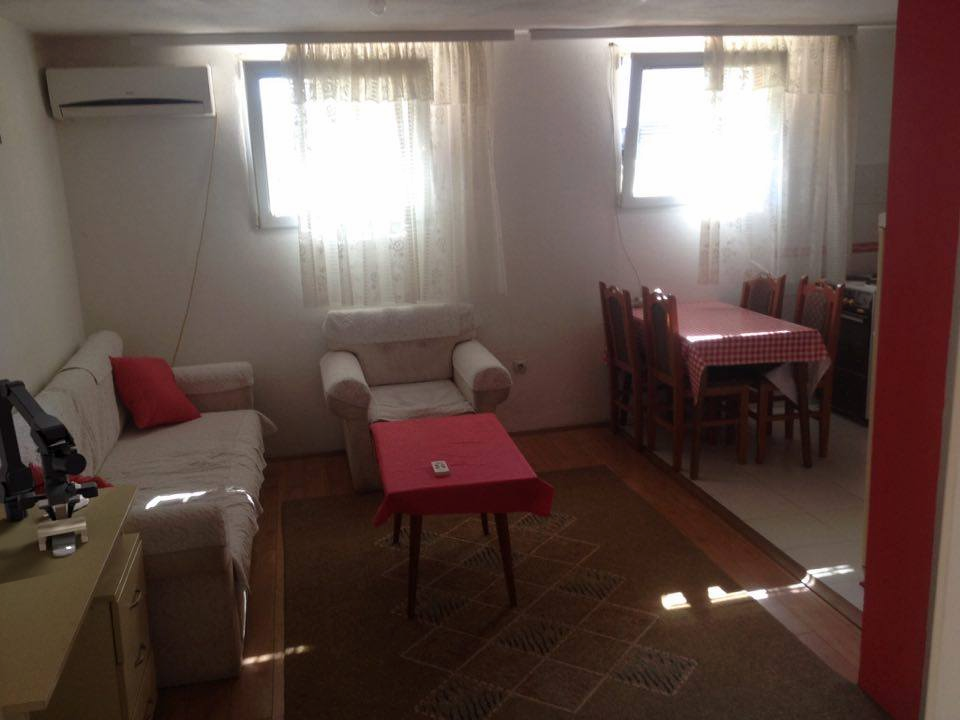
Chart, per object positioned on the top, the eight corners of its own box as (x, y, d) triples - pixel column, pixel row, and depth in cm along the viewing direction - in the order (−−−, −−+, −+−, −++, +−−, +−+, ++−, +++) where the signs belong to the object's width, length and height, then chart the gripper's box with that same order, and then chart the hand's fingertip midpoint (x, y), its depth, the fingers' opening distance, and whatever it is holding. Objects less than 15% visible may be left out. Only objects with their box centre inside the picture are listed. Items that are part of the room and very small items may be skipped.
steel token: (53, 551, 209) (53, 546, 209) (75, 547, 211) (75, 542, 211) (53, 559, 205) (52, 553, 204) (75, 554, 207) (75, 549, 206)
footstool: (40, 540, 216) (37, 523, 215) (87, 531, 221) (84, 515, 220) (40, 551, 209) (37, 534, 208) (88, 541, 214) (85, 525, 213)
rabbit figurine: (43, 517, 233) (38, 484, 231) (42, 509, 239) (37, 477, 238) (90, 508, 238) (85, 476, 237) (88, 500, 245) (84, 469, 243)
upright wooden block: (52, 529, 223) (49, 504, 222) (74, 525, 225) (70, 501, 224) (52, 550, 209) (49, 524, 208) (75, 546, 211) (72, 520, 210)
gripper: (13, 485, 207) (22, 544, 210) (95, 471, 215) (103, 528, 218) (14, 473, 217) (23, 529, 220) (93, 460, 225) (100, 515, 228)
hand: (63, 526), depth 221 cm, fingers closed on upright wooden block, 2 cm apart
